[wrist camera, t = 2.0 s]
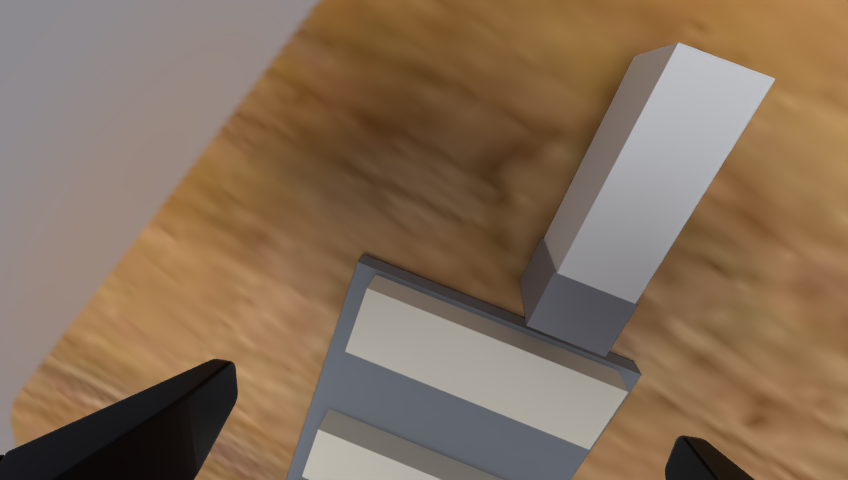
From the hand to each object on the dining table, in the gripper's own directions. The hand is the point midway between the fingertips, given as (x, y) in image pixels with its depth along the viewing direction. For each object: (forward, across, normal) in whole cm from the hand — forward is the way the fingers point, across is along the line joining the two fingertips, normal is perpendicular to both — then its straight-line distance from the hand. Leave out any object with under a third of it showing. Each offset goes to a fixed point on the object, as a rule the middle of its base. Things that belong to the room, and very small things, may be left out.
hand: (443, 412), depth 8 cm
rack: (+11, +1, +14) cm, 18 cm away
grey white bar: (+12, -6, -3) cm, 13 cm away
